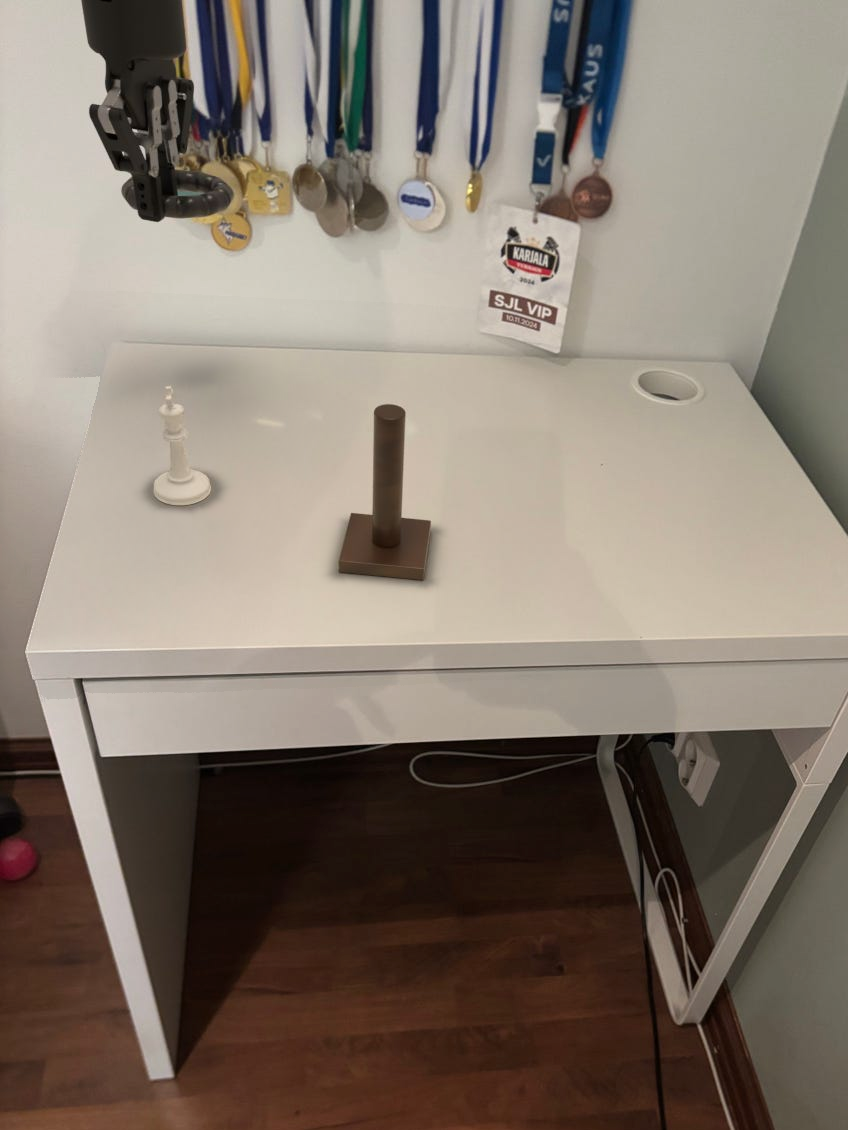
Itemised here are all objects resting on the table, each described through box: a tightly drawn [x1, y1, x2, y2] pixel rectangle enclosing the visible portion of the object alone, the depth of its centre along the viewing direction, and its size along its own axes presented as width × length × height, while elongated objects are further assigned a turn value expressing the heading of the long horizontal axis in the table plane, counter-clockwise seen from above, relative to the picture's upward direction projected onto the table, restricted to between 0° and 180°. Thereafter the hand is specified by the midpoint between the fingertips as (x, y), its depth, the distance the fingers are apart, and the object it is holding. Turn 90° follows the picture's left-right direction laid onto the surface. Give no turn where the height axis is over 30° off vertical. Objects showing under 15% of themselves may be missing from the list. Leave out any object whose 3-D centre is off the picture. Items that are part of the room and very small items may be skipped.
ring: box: [120, 168, 235, 219], centre depth 87 cm, size 10×10×2 cm
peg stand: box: [338, 403, 432, 581], centre depth 77 cm, size 7×7×13 cm
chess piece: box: [153, 385, 212, 506], centre depth 82 cm, size 5×5×10 cm
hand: (159, 214), depth 85 cm, fingers closed on ring, 2 cm apart
